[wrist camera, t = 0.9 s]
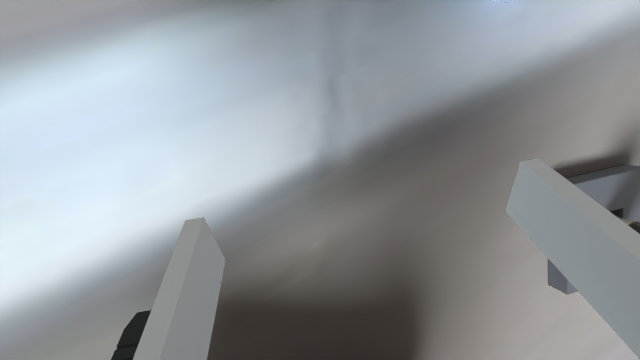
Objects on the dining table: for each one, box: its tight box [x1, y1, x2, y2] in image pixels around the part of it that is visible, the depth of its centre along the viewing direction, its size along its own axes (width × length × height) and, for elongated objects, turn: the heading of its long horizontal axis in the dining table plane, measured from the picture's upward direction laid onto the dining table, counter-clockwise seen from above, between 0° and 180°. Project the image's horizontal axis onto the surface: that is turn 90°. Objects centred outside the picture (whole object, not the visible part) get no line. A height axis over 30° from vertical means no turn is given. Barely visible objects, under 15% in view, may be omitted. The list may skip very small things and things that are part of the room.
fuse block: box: [548, 165, 640, 294], centre depth 38 cm, size 14×12×2 cm
